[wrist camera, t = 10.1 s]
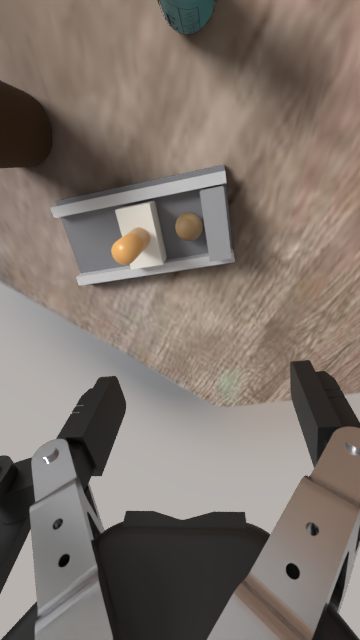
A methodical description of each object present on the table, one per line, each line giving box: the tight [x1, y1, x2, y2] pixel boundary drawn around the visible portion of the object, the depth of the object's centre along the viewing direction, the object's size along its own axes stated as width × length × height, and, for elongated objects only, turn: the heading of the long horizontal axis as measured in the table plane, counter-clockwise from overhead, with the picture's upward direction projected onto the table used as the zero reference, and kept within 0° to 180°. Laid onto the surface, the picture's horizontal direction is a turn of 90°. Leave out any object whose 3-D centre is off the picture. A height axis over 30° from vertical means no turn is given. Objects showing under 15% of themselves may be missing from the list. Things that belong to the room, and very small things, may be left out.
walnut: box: [175, 212, 203, 241], centre depth 41 cm, size 4×4×4 cm
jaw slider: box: [111, 201, 167, 270], centre depth 39 cm, size 5×9×12 cm, turn 11°
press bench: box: [51, 165, 235, 286], centre depth 42 cm, size 26×14×8 cm, turn 101°
